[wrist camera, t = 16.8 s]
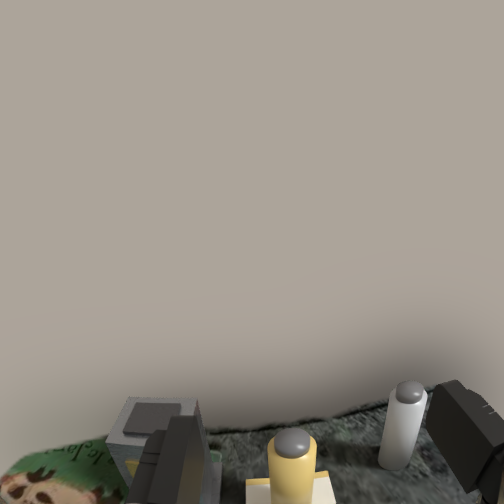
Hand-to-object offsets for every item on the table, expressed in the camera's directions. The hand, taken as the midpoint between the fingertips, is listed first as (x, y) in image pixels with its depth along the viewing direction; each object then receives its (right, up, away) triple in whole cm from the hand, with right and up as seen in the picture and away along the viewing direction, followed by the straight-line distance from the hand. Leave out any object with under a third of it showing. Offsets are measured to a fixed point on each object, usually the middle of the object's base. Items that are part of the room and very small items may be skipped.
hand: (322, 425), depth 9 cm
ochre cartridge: (+2, -23, +18) cm, 29 cm away
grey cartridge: (+16, -21, +23) cm, 35 cm away
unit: (-11, -24, +21) cm, 34 cm away
